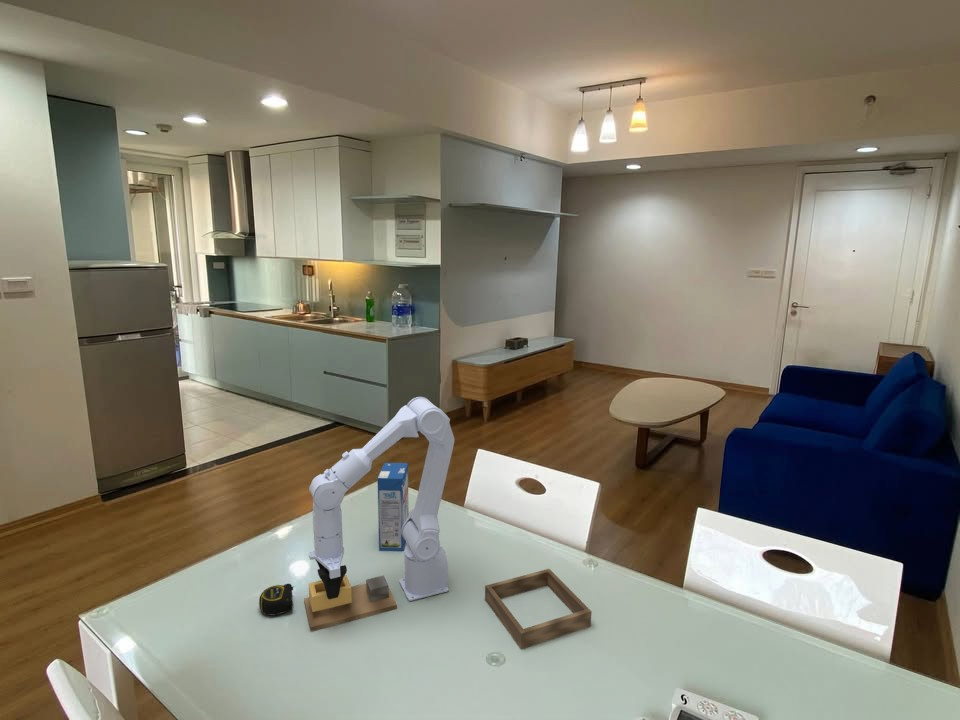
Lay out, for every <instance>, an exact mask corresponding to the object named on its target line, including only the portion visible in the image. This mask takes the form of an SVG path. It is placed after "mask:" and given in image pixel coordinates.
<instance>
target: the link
mask: <svg viewBox="0 0 960 720" xmlns="http://www.w3.org/2000/svg"><path fill="white" fill-rule="evenodd" d="M351 587H352V586H351V583H350V580H349V577H348V575H347V574H345V576H344V577H343V580H342V582H341V587H340V592H339V596H338V597H337V598H333V599H328V598H327V595H326V591H325V586H324V583H323V581H322V580H321V579H320V580H318V581H314V582H309V583H308V597H309V599H310V603H311V607H312V612H315V611H319V610H323V609H328V608H332V607H336V606H340V605H344V604H348V603H352V596H351Z"/></svg>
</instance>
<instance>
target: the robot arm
mask: <svg viewBox="0 0 960 720" xmlns="http://www.w3.org/2000/svg"><path fill="white" fill-rule="evenodd" d="M450 421H451V418H450V417H448V415H447V414H446V412H444V411H443V410H442V409H441V408H439V407H437V406H436V405H435V404H433V403H432V402H431V401H430V400H429V399H428V398H427V397H424V396H417V397H413V398H412V399H411V400H409V401H408V402H407V404H405V405H404V406H402V407H401V408H400V409H399V410H398V412H397V413H396V414H395V416H393V418H392V419H390V420H389V422H388V423H386V425H384V426H383V427H382V428H381V429H380V430H379V431H378V432H377V433H376V434H375V435H374V436H373V437H372V438H371V439H370V440H369V441H368V442H367V443H366V444H365V445H364V446H363V447H362V448H353V449H351V450H350V451H349V452H348V451H345V452H343V453H342V454H341V456H342V458H341V459H340V460H339V461H337V462H336V463H334V464H333V465H332V466H331V468H326V469H325V470H324V471H323V473H322V474H321V473H320V474H318V475H317V476H315V477H314V478H313V479H312V481H311V484H310V485H309V486H308V488H309V489H308V490H309V493H310V494H311V496H312V523H313V526H312V529H313V545H314V549H313V550H312V551H309V553H308V558H309V560H311V561H312V560H315V562H316V563H317V566H318V568H319V569H317V575H318V577H319V579H320V581H321V580H322V581H323V583H324V586H325V591H326V595H327V598H328V599H333V598H337V597H338V596H339V592H340V587H341V582H342V580H343V577H344V576H345V575H347V570H348V569H347V565H346V564H344V565H343V564H342V560H343V557H344V555H345V548H344V545H343V544H344V542H343V541H344V539H343V515H342V508H341V504H342V502H343V501H344V497H345V494H346V493H347V491H348V490H350V489H351V488H352V487H353V486H354V485H355V484H357V483H358V482H359V481H360V480H361V479H362V478H363V477H365V475H367V474H368V473H369V472H370V471H372V464H373V462H374V460H376V459H377V458H378V457H379V456H381V455H382V454H383V453H385V452H386V451H387V450H389V448H391V447H392V446H393V445H395V444H396V443H397V442H398V441H400V440H401V439H402V438H419V437H420V436H419V433H421V435H423V436H424V437H425V438H426V440H427V441H428V442H429V444H428V447H427V452H426V456H425V461H424V465H423V470H422V473H421V474H422V475H421V478H420V481H419V482H420V483H419V488H418V491H417V496H416V500H415V505H414V508H413V509H411V510H410V511H409V516H408V518H407V520H406V521H405V523H404V524H403V526H402V529H401V533H402V537H403V538H404V539H405V540H406V543H405V547H404V550H403V552H404V553H403V554H404V578H401V579H399V585H400V586H401V588H402V590H403V592H404V594H405V596H406V598H407V600H408V601H409V602H412V601H417V600H420V599H423V598H428V597H431V596H435V595H439V594H443V593H446V592H449V590H450V588H449V585H448V582H449V581H448V580H449V579H448V577H449V575H448V573H449V572H448V571H449V569H448V566H449V564H448V563H449V562H448V558H447V553H446V550H445V549H444V547H443V546H441V542H440V541H441V540H440V532H441V531H440V530H441V529H440V524H439V523H440V522H439V518H438V514H439V510H440V506H441V500H442V497H443V493H444V490H445V489H444V487H445V484H446V480H447V476H448V471H449V467H450V463H451V458H452V454H453V449H454V445H455V436H454V433H453V430H452V427H451V424H450ZM418 432H419V433H418ZM341 564H342V565H341Z"/></svg>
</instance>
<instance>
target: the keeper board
mask: <svg viewBox="0 0 960 720" xmlns="http://www.w3.org/2000/svg"><path fill="white" fill-rule="evenodd" d="M351 596H352V603H348V604H344V605H340V606H336V607H332V608H328V609H323V610H319V611H315V612H312V607H311V603H310V599H309V596H307V597H305V598H304V599H303V600H304V606H305V607H304V608H305V611H306V617H307V621H308V626H309V629H310V632H314V631H317V630H322V629H325V628H329V627H333V626H334V627H335V626H336V625H340V624H344V623H348V622H352V621H357V620H360V619H364V618H367V617H371V616H374V615H378V614H382V613H385V612H389V611H390V612H391V611H393V610H397V609H398V604H397V602H396V599H395V598H394V595H393V593H392V590H391V589H390V587H389V583H388V581H387V579H386V577H385V575H380V576H375V577H371V578H367V579H365V583H362V584H358V585H355V586H351Z"/></svg>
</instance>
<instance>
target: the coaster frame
mask: <svg viewBox="0 0 960 720" xmlns="http://www.w3.org/2000/svg"><path fill="white" fill-rule="evenodd" d="M484 587H485V588H484V601H486V603H487V605H488V606H489V607H490V609H491V610H492V612H493V613H494V615H495V616H496V617H497V619H499V621H500V623H501V624H502V625H503V627H504V628H505V629H506V631H507V632H508V634H509V635H510V636H511V639H513V640H514V642H515V643H516V645H517V646H518V648H519V649H520V650H523V649H526V648H529V647H533V646H535V645H537V644H541V643H544V642H548V641H550V640H554V639H556V638H560V637H562V636H566V635H568V634H571V633H573V632H577V631H580V630H584V629H586V628H589V627H591V625H592V610H591V609H590V608H589V607H588V606H587V605H586V604H585V603H584V602H583V601H582V600H581V599H580V598H579V597H578V596H577V594H575V593H574V592H573V590H571V589H570V588H569V586H567V585H566V584H565V583H564V582H563V581H562V580H561V579H560V578H559V577H558V576H557V574H555V573H554V572H553V571H552V570H551V568H545V569H543V570H539V571H538V570H537V571H535V572H532V573H528V574H525V575H520V576H516V577H513V578H509V579H505V580H502V581H501V580H500V581H497V582H495V583H490V584H486V585H485V586H484ZM543 587H548V588H549V589H550V590H551V591H552V592H553V594H554V595H555V596H556V597H557V598H558V599H559V600H560V601H561V602H562V603H563V604H564V605H565V606H566V608H568V610H570V611H571V613H570V614H567V615H564V616H563V615H562V616H561V617H557V618H553V619H551V620H548V621H544V622H541V623H538V624H534V625H531V626H528V627H525V628H523V626H522V625H521V623H520V622H519V621H518V620H517V619H516V617H515V616H514V614H513V613H512V612H511V611H510V609H509V608H508V606H507V605H506V604H505V603H504V601H503V600H502V599H505V598H507V597H511V596H514V595H515V596H516V595H518V594H522V593H525V592H530V591H531V590H532V591H533V590H536V589H539V588H543Z"/></svg>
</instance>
